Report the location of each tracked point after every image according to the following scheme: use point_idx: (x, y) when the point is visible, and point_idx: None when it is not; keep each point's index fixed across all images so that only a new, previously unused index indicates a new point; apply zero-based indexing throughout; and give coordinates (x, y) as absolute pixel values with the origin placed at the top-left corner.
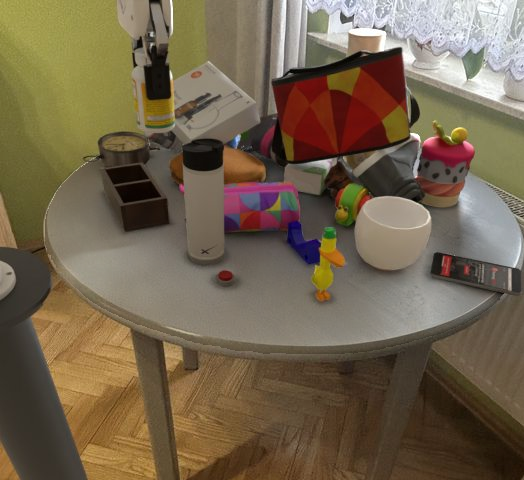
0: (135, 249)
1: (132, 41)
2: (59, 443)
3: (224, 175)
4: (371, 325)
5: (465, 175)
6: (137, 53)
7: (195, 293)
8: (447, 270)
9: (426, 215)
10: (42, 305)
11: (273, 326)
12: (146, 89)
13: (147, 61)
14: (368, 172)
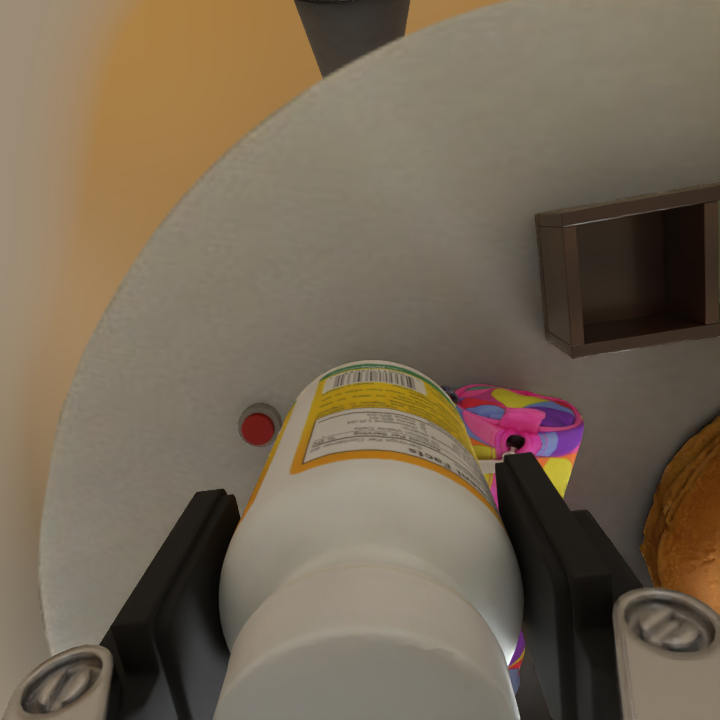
0: (441, 235)
1: (665, 670)
2: (319, 53)
3: (696, 538)
4: (86, 638)
5: None
6: (286, 647)
7: (229, 351)
8: None
9: None
10: None
11: (101, 477)
12: (181, 518)
13: (16, 696)
14: None
